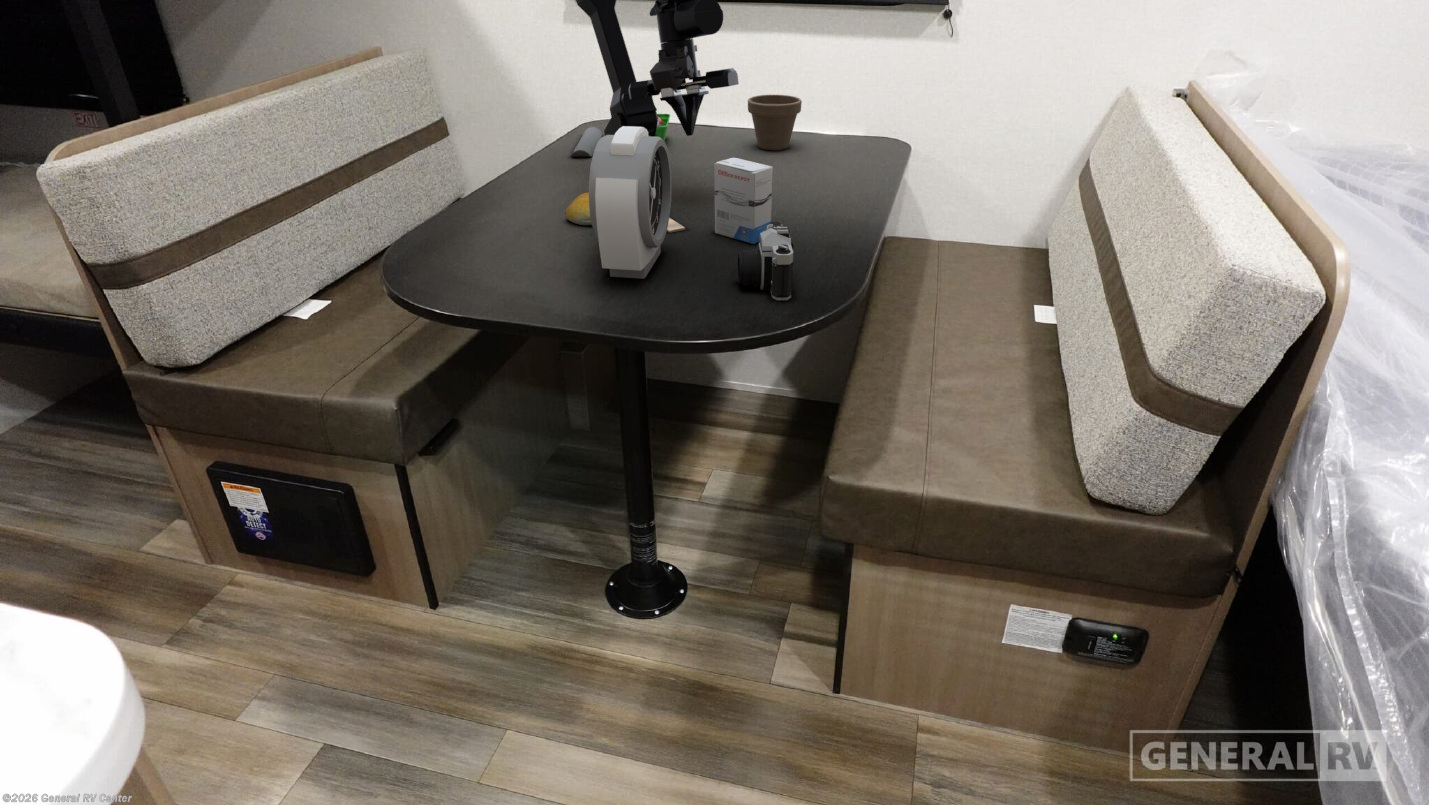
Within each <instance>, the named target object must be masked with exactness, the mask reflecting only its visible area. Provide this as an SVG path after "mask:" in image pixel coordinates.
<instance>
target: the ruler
mask: <svg viewBox="0 0 1429 805" xmlns="http://www.w3.org/2000/svg"><path fill="white" fill-rule="evenodd" d="M685 230H686V227H685V226H683V225H682V224H681V223H679V222H678V221H676V220H674V219H672V218H671V217H669V222H668V228H667V231H666V233H669V234H671V233H676V232H680V231H681V232H682V231H685Z"/></svg>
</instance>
